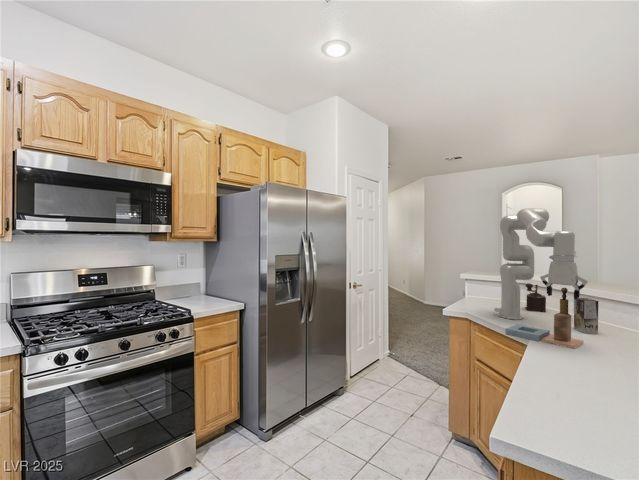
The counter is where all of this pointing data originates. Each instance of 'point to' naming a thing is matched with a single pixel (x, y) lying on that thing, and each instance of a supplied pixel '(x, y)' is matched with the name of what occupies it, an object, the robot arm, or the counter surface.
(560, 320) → the walnut block
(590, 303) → the coffee box
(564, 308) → the wooden chess piece
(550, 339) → the terracotta tile
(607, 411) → the counter surface
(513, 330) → the pocket plate
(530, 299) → the dark brown boxy piece
